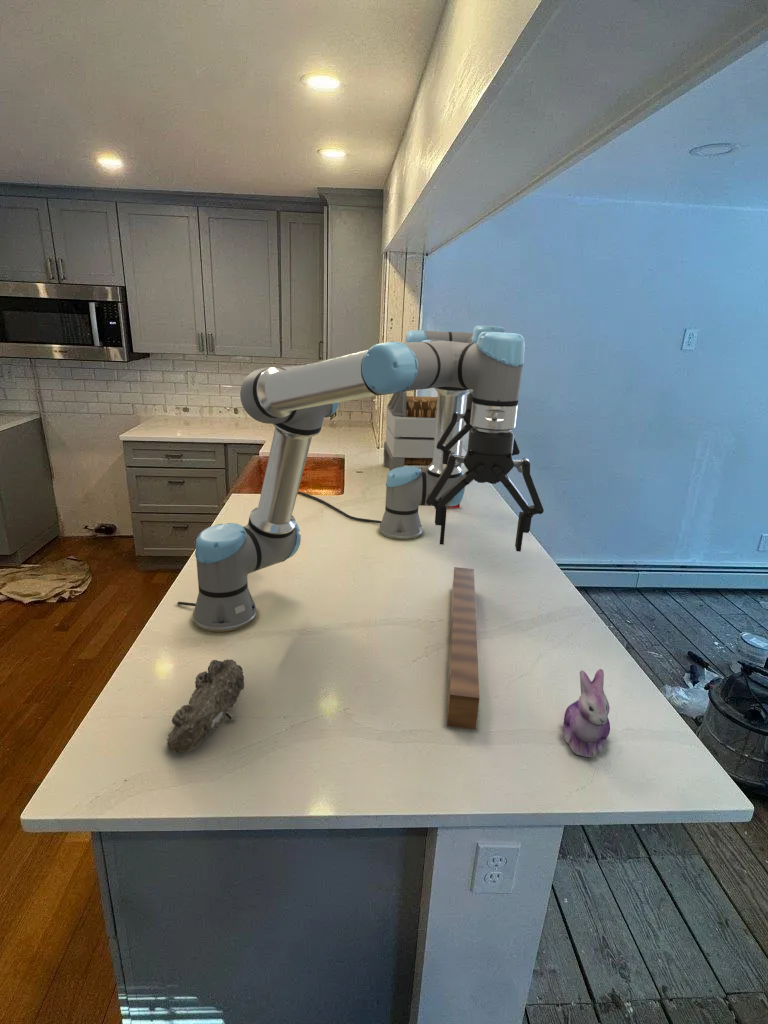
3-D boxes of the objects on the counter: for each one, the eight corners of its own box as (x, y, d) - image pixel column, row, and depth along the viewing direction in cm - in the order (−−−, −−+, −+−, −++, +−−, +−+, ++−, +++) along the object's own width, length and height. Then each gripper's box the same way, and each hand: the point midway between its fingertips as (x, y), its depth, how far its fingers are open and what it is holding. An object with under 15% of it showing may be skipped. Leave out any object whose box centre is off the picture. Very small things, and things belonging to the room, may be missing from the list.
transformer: (382, 463, 289) (386, 382, 275) (445, 464, 293) (451, 384, 279) (390, 482, 257) (394, 392, 243) (460, 483, 261) (468, 394, 247)
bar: (452, 590, 161) (454, 567, 159) (471, 592, 161) (474, 568, 158) (446, 726, 108) (450, 694, 106) (475, 729, 108) (479, 697, 105)
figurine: (588, 767, 100) (602, 697, 95) (547, 730, 108) (559, 664, 103) (625, 751, 104) (641, 683, 99) (583, 716, 112) (596, 652, 107)
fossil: (192, 660, 117) (244, 628, 112) (224, 691, 120) (276, 661, 115) (142, 746, 98) (202, 712, 93) (182, 779, 101) (242, 748, 96)
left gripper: (416, 428, 93) (408, 547, 100) (572, 438, 90) (553, 559, 97) (419, 419, 100) (412, 531, 107) (564, 429, 97) (547, 543, 104)
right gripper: (430, 392, 133) (424, 479, 141) (538, 399, 131) (526, 487, 138) (431, 388, 140) (426, 471, 148) (534, 394, 138) (523, 478, 145)
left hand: (479, 545), depth 102 cm, fingers open, 13 cm apart
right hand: (474, 479), depth 143 cm, fingers open, 13 cm apart
